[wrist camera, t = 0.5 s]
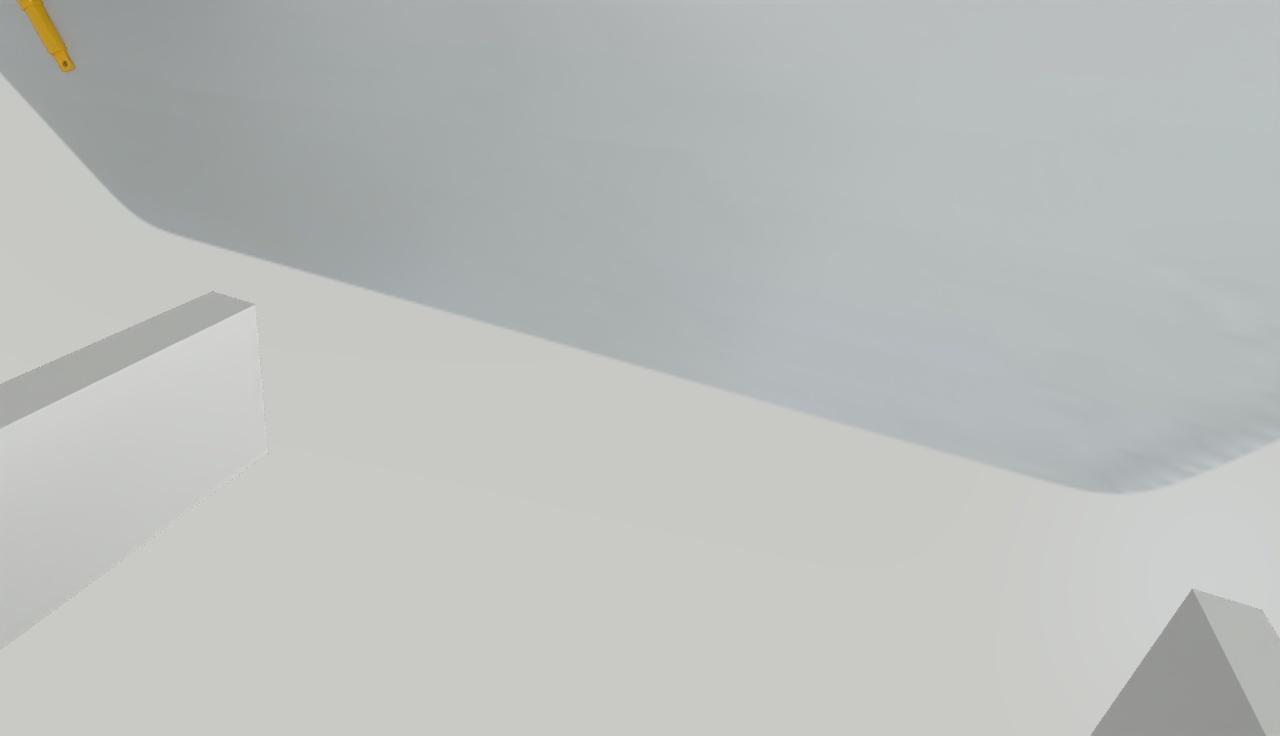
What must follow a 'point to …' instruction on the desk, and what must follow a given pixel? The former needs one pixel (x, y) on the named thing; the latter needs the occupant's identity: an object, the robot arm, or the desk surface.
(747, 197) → the desk surface
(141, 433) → the robot arm
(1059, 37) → the desk surface
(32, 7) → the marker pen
